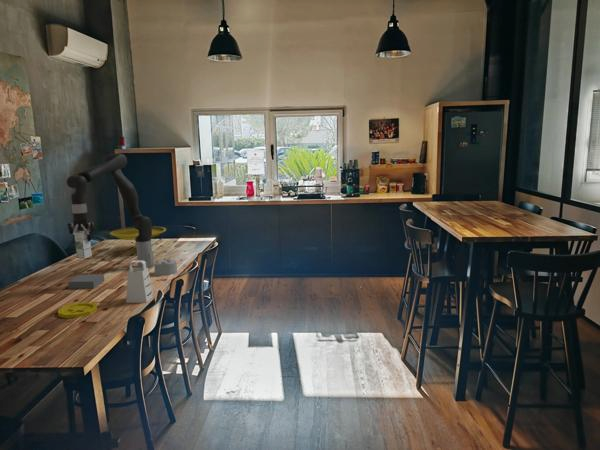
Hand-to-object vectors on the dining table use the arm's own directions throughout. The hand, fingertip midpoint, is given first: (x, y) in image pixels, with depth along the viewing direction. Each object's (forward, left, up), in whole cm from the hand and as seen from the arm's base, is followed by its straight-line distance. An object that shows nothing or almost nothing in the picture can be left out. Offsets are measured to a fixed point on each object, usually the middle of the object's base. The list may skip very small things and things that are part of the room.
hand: (82, 241), depth 263 cm
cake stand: (-2, -84, -26) cm, 88 cm away
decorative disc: (-15, +43, -26) cm, 52 cm away
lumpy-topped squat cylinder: (-39, -22, -26) cm, 52 cm away
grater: (-39, +26, -26) cm, 53 cm away
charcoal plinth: (0, 0, -25) cm, 25 cm away
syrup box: (0, 0, -9) cm, 9 cm away
